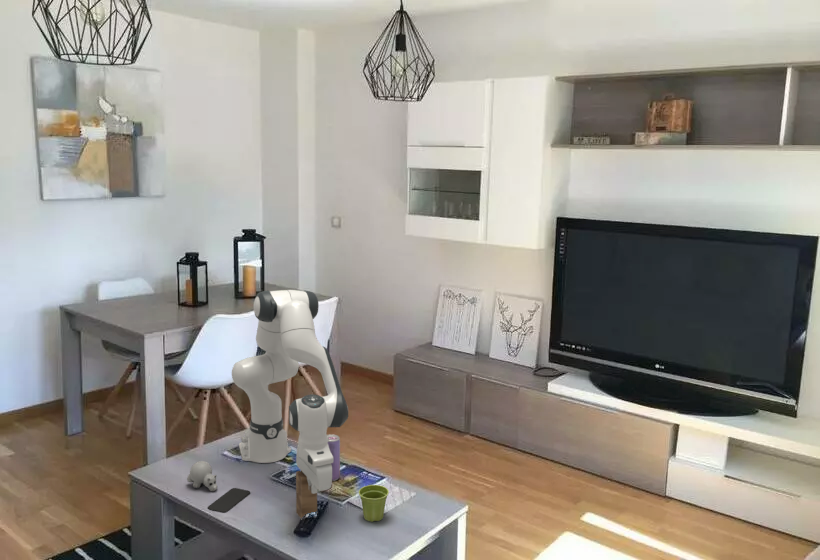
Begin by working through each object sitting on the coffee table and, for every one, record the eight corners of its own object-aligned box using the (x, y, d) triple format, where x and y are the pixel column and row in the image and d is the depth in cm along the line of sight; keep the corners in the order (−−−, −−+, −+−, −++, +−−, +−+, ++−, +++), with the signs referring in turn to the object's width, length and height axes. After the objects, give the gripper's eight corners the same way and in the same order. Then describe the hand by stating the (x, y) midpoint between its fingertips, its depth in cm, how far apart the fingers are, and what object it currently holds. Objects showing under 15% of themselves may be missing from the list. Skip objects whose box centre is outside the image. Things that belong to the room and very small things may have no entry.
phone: (205, 508, 227) (232, 487, 241) (205, 510, 227) (232, 489, 241) (225, 512, 224) (251, 491, 238) (225, 514, 224) (251, 493, 238)
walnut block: (296, 512, 226) (296, 471, 223) (311, 509, 228) (311, 468, 225) (302, 520, 221) (301, 478, 219) (317, 516, 224) (317, 474, 221)
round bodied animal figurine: (204, 502, 236) (209, 483, 233) (183, 480, 242) (187, 461, 238) (221, 494, 242) (226, 475, 238) (200, 472, 248) (205, 453, 244)
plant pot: (378, 527, 218) (378, 501, 216) (352, 519, 222) (352, 493, 221) (393, 514, 226) (394, 489, 224) (368, 507, 230) (369, 482, 229)
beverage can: (336, 482, 246) (337, 441, 244) (320, 480, 248) (320, 440, 245) (341, 475, 252) (342, 435, 250) (325, 473, 253) (325, 433, 251)
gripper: (291, 438, 223) (291, 479, 225) (315, 464, 205) (315, 508, 208) (310, 434, 226) (310, 475, 228) (336, 459, 208) (335, 503, 211)
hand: (313, 491), depth 218 cm, fingers closed
